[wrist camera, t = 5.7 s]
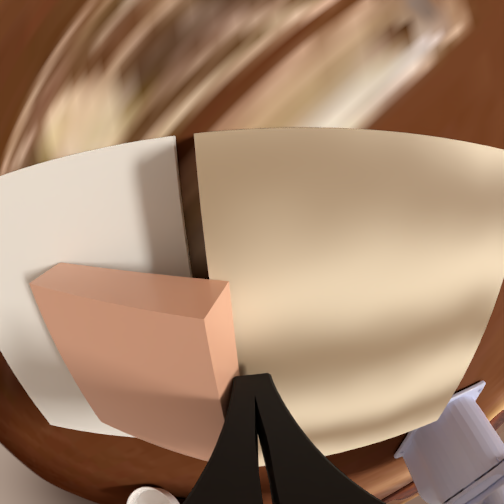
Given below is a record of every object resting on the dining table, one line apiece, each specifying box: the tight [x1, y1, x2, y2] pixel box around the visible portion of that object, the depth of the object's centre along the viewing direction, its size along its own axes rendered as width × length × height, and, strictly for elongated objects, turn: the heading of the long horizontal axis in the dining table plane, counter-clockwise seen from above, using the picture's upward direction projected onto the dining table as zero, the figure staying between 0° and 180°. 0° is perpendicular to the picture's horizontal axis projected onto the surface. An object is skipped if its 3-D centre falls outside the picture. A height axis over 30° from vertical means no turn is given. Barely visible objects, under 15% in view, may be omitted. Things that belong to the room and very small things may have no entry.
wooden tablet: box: [381, 410, 504, 503], centre depth 30 cm, size 27×10×2 cm, turn 147°
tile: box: [29, 262, 240, 461], centre depth 11 cm, size 9×8×2 cm
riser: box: [194, 127, 504, 466], centre depth 13 cm, size 18×14×3 cm
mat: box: [0, 136, 193, 437], centre depth 13 cm, size 18×14×1 cm
